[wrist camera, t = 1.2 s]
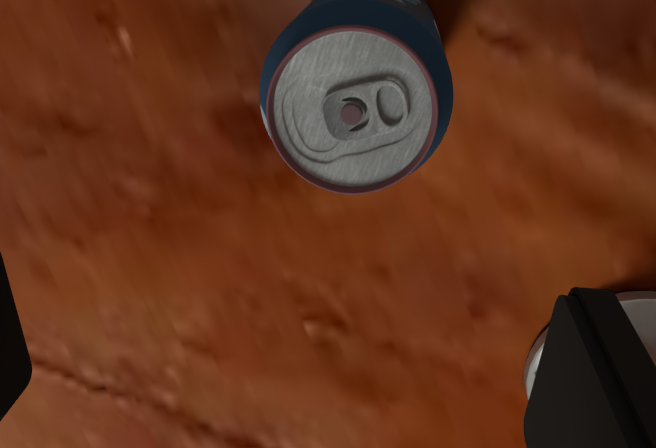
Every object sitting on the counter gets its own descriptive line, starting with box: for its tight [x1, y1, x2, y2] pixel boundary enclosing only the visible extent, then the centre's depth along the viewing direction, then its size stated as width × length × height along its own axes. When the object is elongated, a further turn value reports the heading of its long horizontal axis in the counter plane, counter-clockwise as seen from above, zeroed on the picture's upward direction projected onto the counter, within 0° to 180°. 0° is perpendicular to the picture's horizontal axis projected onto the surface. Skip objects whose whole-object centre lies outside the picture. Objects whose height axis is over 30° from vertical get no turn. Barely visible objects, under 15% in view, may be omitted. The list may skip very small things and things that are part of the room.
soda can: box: [259, 0, 453, 195], centre depth 25 cm, size 7×7×12 cm
